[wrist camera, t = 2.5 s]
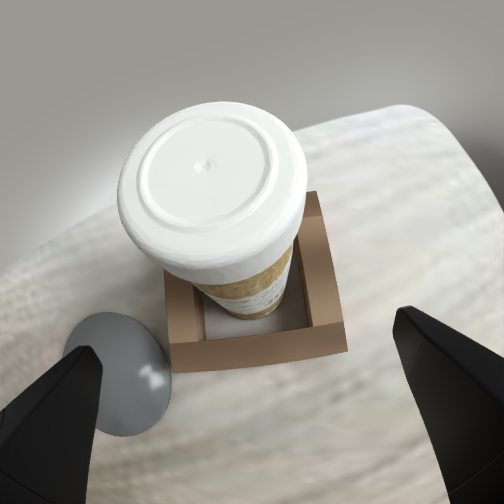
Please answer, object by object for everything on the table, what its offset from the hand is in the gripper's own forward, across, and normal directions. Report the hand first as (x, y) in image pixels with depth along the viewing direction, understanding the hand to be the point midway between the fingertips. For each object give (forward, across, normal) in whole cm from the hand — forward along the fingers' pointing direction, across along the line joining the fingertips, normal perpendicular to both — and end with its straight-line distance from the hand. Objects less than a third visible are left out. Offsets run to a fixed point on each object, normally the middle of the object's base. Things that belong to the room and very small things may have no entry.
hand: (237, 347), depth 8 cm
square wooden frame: (+10, 0, +5) cm, 11 cm away
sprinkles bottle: (+10, 0, +5) cm, 12 cm away
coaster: (+6, +10, +9) cm, 15 cm away
